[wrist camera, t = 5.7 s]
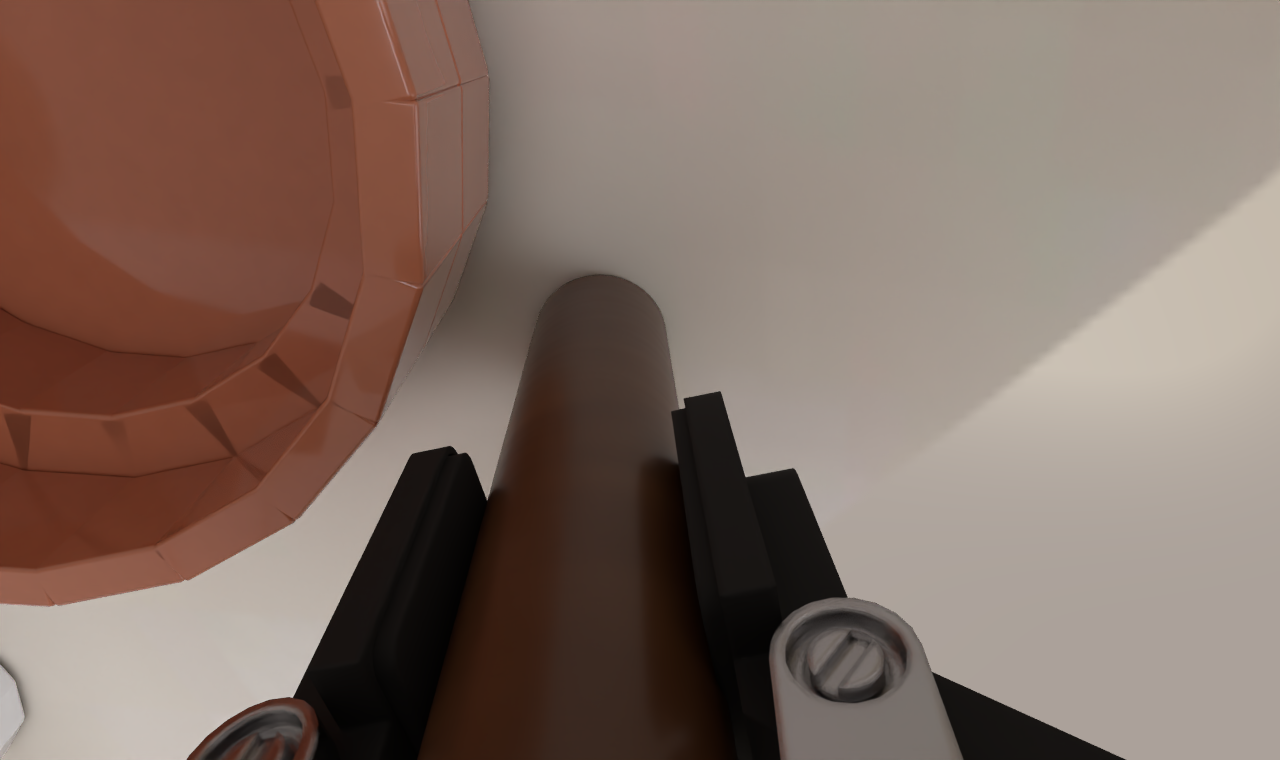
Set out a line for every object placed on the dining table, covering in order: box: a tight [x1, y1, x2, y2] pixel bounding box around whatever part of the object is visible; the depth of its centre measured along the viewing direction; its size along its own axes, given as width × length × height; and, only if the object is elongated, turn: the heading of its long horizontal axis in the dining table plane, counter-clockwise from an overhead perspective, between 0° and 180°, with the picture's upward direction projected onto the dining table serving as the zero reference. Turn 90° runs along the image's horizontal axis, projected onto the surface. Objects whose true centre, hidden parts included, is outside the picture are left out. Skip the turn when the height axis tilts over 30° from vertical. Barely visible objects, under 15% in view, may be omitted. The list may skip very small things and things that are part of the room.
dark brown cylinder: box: [417, 275, 738, 760], centre depth 11 cm, size 3×3×12 cm
